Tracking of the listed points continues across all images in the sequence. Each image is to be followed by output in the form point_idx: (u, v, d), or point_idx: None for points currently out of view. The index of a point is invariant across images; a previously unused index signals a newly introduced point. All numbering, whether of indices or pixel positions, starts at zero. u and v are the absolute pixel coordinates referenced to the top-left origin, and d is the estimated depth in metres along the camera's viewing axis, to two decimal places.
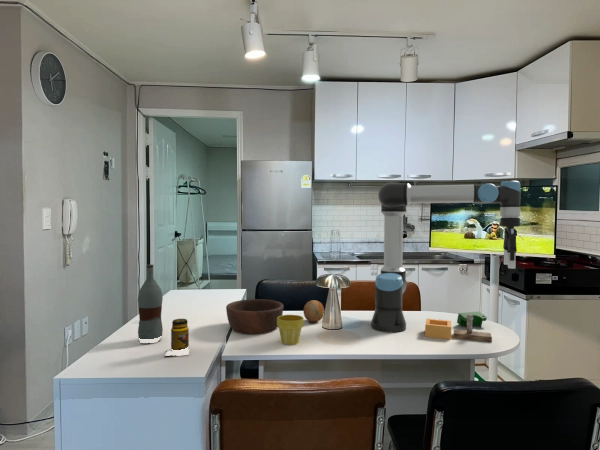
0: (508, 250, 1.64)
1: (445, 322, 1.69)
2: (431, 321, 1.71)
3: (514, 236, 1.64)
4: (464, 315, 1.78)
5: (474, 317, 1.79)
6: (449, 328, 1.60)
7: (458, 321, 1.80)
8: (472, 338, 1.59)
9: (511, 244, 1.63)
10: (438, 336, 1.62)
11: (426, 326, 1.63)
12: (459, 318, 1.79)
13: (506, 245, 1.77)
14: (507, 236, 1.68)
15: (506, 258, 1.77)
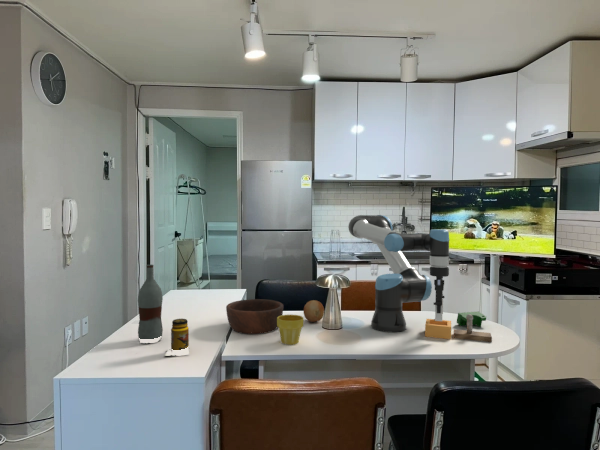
0: None
1: (445, 322, 1.69)
2: (431, 321, 1.71)
3: (440, 288, 1.59)
4: (464, 315, 1.78)
5: (474, 317, 1.79)
6: (449, 328, 1.60)
7: (458, 321, 1.80)
8: (472, 338, 1.59)
9: (437, 296, 1.58)
10: (438, 336, 1.62)
11: (426, 326, 1.63)
12: (459, 318, 1.80)
13: None
14: (435, 287, 1.63)
15: None
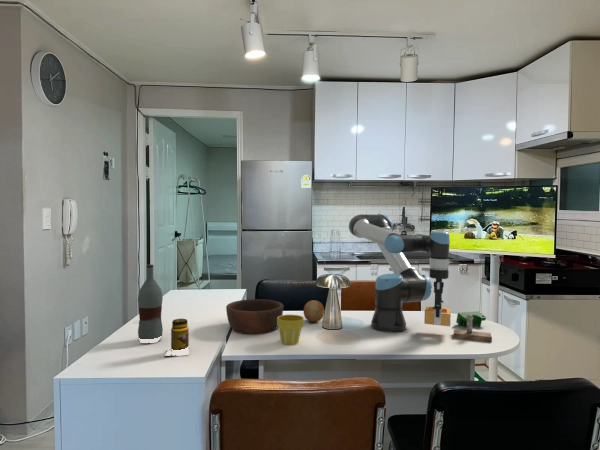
0: (433, 307, 1.61)
1: (444, 310, 1.69)
2: (430, 309, 1.71)
3: (440, 292, 1.59)
4: (463, 315, 1.78)
5: (473, 317, 1.80)
6: (448, 315, 1.61)
7: (457, 321, 1.80)
8: (472, 338, 1.59)
9: (436, 301, 1.59)
10: None
11: (425, 313, 1.64)
12: (458, 318, 1.80)
13: None
14: (434, 290, 1.64)
15: None
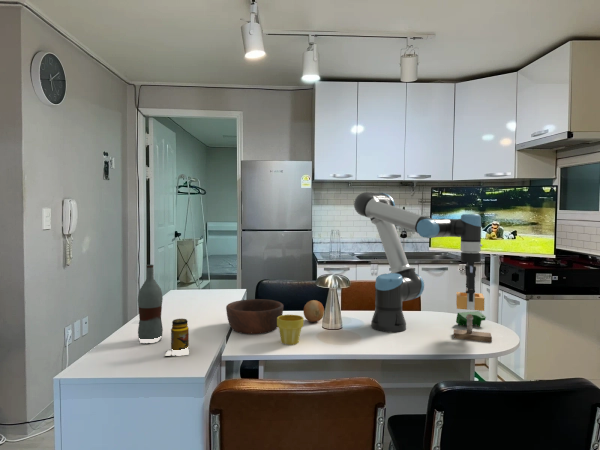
0: (467, 291, 1.56)
1: (476, 295, 1.64)
2: (461, 294, 1.66)
3: (473, 275, 1.55)
4: (463, 315, 1.79)
5: (473, 317, 1.80)
6: (482, 299, 1.56)
7: (457, 321, 1.81)
8: (472, 338, 1.59)
9: (470, 284, 1.54)
10: None
11: (458, 298, 1.59)
12: (458, 318, 1.80)
13: (468, 282, 1.66)
14: (467, 273, 1.59)
15: None
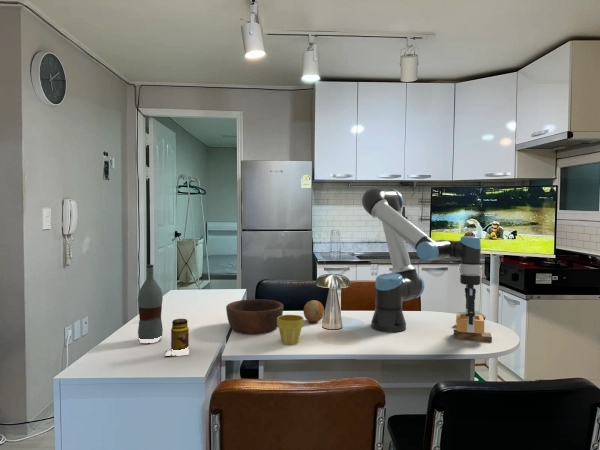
0: (466, 314, 1.56)
1: (476, 316, 1.64)
2: (461, 316, 1.66)
3: (473, 299, 1.55)
4: None
5: None
6: (482, 322, 1.56)
7: None
8: (472, 338, 1.59)
9: (470, 307, 1.55)
10: None
11: (458, 320, 1.59)
12: None
13: None
14: (466, 296, 1.59)
15: None
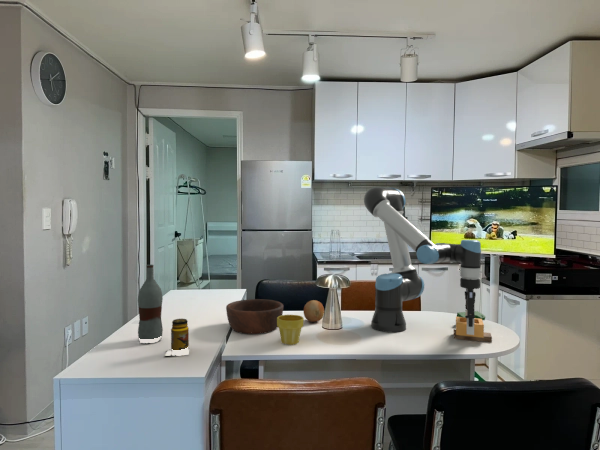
0: (466, 315, 1.55)
1: (476, 320, 1.65)
2: (461, 319, 1.67)
3: (473, 301, 1.55)
4: (463, 314, 1.79)
5: None
6: (481, 326, 1.56)
7: None
8: (472, 338, 1.59)
9: (470, 309, 1.54)
10: None
11: (457, 324, 1.59)
12: None
13: (467, 305, 1.68)
14: (466, 299, 1.59)
15: None
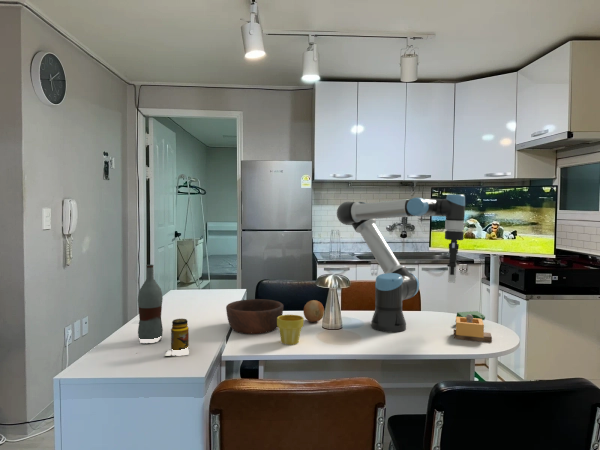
0: (448, 264, 1.64)
1: (476, 320, 1.65)
2: (461, 319, 1.67)
3: (455, 250, 1.63)
4: (462, 314, 1.79)
5: None
6: (481, 326, 1.56)
7: None
8: (472, 338, 1.59)
9: (451, 258, 1.62)
10: (470, 334, 1.58)
11: (457, 324, 1.59)
12: None
13: None
14: (449, 250, 1.68)
15: None
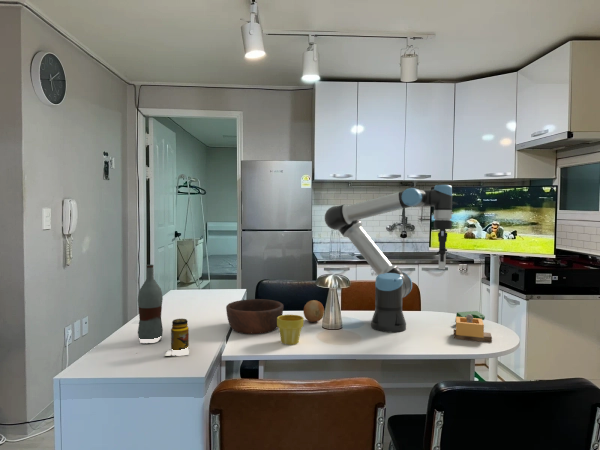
0: None
1: (476, 320, 1.65)
2: (461, 319, 1.67)
3: (444, 238, 1.70)
4: (462, 314, 1.79)
5: None
6: (481, 326, 1.56)
7: None
8: (472, 338, 1.59)
9: (441, 245, 1.69)
10: (470, 334, 1.58)
11: (457, 324, 1.59)
12: None
13: None
14: (439, 238, 1.75)
15: None
